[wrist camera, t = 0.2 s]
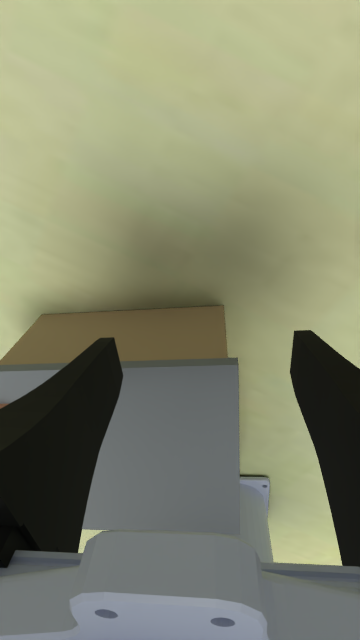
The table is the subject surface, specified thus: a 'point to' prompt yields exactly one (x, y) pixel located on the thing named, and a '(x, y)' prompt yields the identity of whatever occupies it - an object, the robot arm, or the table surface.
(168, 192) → the table surface
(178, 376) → the sliding lid
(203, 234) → the table surface
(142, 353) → the box
